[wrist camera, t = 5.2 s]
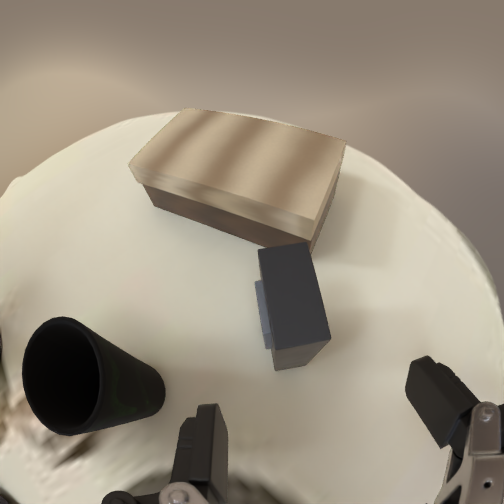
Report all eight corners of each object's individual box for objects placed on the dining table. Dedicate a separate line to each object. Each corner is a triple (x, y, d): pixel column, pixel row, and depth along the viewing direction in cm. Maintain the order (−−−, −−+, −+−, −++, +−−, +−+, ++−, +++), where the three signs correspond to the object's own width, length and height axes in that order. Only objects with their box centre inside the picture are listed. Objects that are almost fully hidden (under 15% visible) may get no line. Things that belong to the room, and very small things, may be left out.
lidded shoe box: (151, 209, 33) (127, 164, 26) (197, 152, 38) (184, 107, 31) (305, 267, 28) (314, 220, 21) (335, 191, 32) (346, 140, 25)
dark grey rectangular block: (269, 371, 23) (265, 351, 13) (260, 313, 26) (249, 250, 15) (305, 365, 23) (331, 338, 13) (294, 307, 26) (306, 240, 15)
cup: (101, 361, 24) (18, 328, 14) (164, 344, 25) (94, 302, 14) (117, 432, 20) (31, 435, 10) (186, 420, 21) (118, 432, 11)
